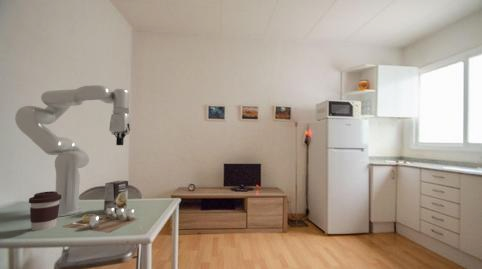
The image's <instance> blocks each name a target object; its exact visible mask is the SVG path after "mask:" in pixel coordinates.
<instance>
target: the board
mask: <svg viewBox="0 0 482 269" xmlns="http://www.w3.org/2000/svg"><path fill="white" fill-rule="evenodd" d="M98 215H99V228H97V229H89V225H90V223H83V222H82V219H80V220H77V221H75V222H71V223H70V224H69V223H68V224H66V225H63V226H62V228H71V229H78V230H85V231H94V232H100V233H101V232H102V233H108V234H109V233H110V234H111V233H112V232H114V231H117V230H118V229H121V228H123V227H125V226H127V225H130V224H131V223H133V222H136V221H138V220H139V218H135V217H134V220H132V221H126V216H124V219H122V220H116V215H114V218H112V219H106V215H104V214H98Z"/></svg>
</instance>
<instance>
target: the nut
mask: <svg viewBox="0 0 482 269" xmlns="http://www.w3.org/2000/svg"><path fill="white" fill-rule="evenodd" d="M95 215H96V214H95V213H87V214H84V215H82V217H81V220H82V222H83V223H90V217H91V216H95Z"/></svg>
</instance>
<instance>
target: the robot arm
mask: <svg viewBox="0 0 482 269" xmlns="http://www.w3.org/2000/svg"><path fill="white" fill-rule="evenodd" d="M40 99H41V101H42V103H43V104H44V105H45V106H46V107H45V108H44V107H39V106H34V105H25V106H21V107H20V108H18V109H17V111H16V112H15V117H14V119H15V125H16V127H17V128H18V129H19V130H20V131H21V132H22V133H23V134H24V135H25V136H26V137H27V138H29V139H30V140H31V141H32V142H33V143H34V144H36V146H37V147H38V148H40V149H41V150H42V152H44V153H45V154H47V155H49V156H56V157H55V159H54V169H55V192H57V193H58V194H60V195H62V196H61V199H60V200H59V212H58V217H57V218H59V217H67V216H73V215H76V214H79V213H81V212H82V211H83V208H82V207H79V204H80V202H79V200H80V183H81V182H80V180H81V178H80V171H79V169H82V168H84V167H86V166H87V165H88V164H89V161H90V158H89V155H88V154H87V153H86V151H84V150H83V149H82V148H81V147H80V146H79V145H78V144H77V143H76V142H75V141H73V140H72V139H70V138H68V137H60V136H57V135H56V134H55V133H53V132H52V131H51V130H50V128H48V127H47V126H45V125H51V124H53V123H55V122H56V121H58V120H59V119H60V118H61V117H62V116H63V115H64V114H65V113H66V112H67V111H68V110H69V109H70V108H71V107H72V106H75V107H77V106H81V105H83V103H84V102H85V101H95V100H99V101H101V102H103V103H105V104H112V106H113V108H112V114H111V116H110V121H109V128H108V129H109V132H111V135H113V136H114V137H115V138H116V144H115V145H116V146H124V141H125V137H126V136H127V135H129V134H130V132H131V117H130V91H129V90H126V89H123V88H117V89H116V88H115V89H114V90H112V89H110V88H108V87H107V86H104V85H98V84H97V85H82V86H80V87H78V88H75V89H73V88H72V89H58V90H57V89H56V90H55V89H54V90H47V91H44V92H43V93H42V94H41V96H40Z"/></svg>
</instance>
